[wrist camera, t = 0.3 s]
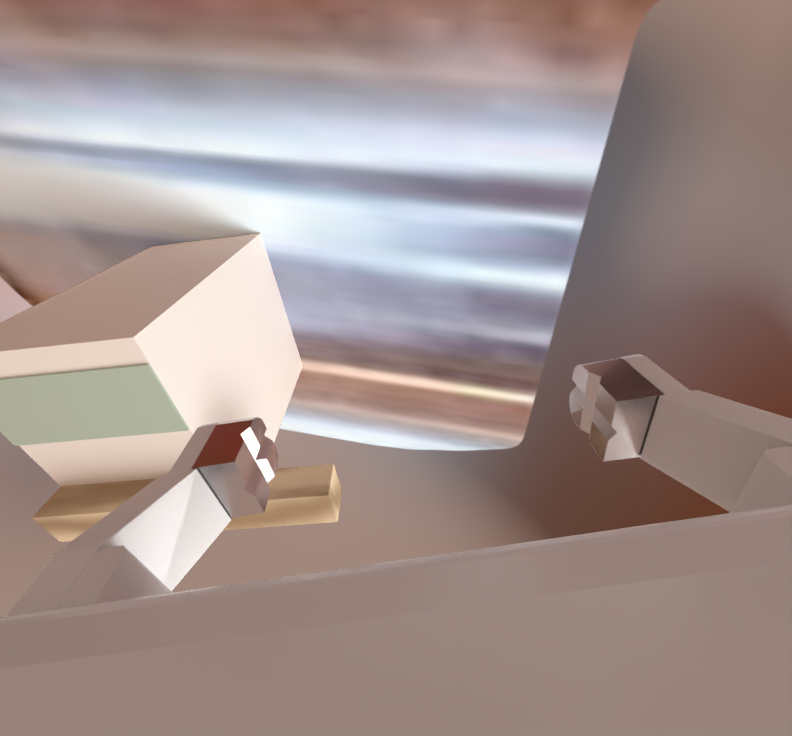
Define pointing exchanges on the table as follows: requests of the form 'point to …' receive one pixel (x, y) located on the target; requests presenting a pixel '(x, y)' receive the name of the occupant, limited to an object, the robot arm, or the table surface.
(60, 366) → the white cardboard box
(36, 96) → the table surface
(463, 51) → the table surface
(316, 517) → the tan rectangular block
